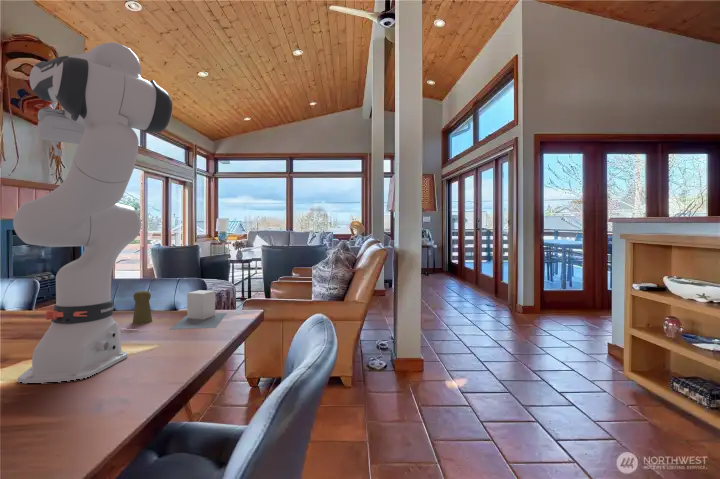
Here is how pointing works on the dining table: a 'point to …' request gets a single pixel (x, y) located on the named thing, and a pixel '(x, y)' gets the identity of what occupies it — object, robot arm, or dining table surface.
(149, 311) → the cork
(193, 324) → the mat
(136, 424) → the dining table surface
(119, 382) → the dining table surface
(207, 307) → the cover
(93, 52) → the robot arm
